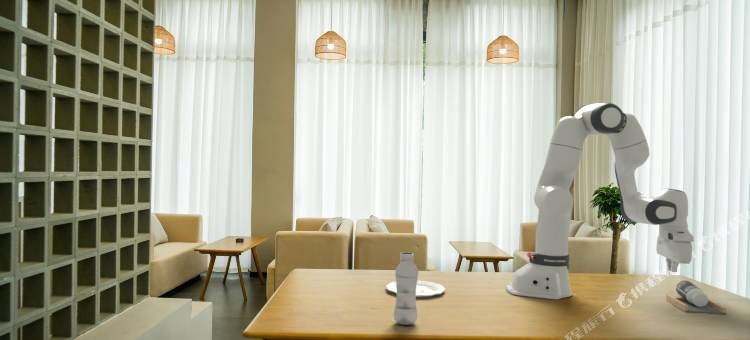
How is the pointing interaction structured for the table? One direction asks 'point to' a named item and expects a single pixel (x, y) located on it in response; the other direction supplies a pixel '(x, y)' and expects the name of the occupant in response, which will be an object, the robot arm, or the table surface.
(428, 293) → the plate
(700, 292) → the pill bottle
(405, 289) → the plastic bottle
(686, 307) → the wooden tray
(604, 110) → the robot arm
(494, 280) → the table surface
